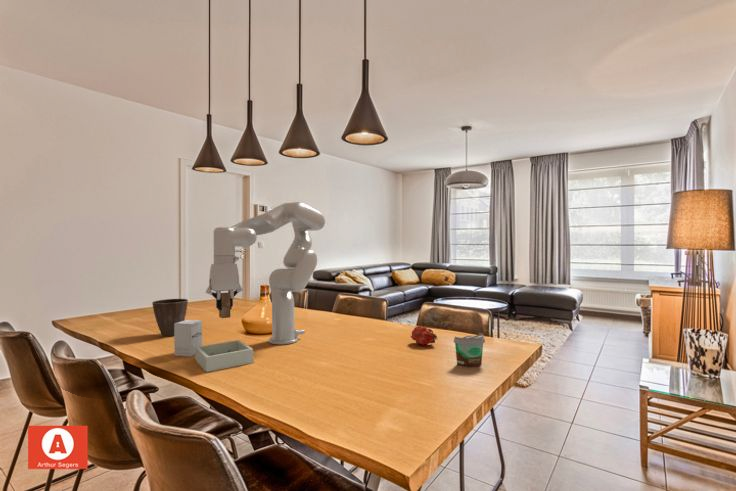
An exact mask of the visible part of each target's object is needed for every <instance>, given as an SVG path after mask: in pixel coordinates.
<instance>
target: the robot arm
mask: <svg viewBox="0 0 736 491" xmlns="http://www.w3.org/2000/svg"><path fill="white" fill-rule="evenodd" d="M290 223H291V224H292V228H293V233H294V237H293V238H294V239H293V240H292V243H291V244H290V247H289V248H288V250H287V251H286V254H284V257H283V262H282V263H283V265H284V268H277V269H275V270H273V271H271V273H270V275H269V277H268V282H269V283H268V284H269V288H270V295H271V333H272V334H271V335H272V336H271V337H269V338H268V343H269V344H271V345H290V344H294V343H296V342H298V341H299V337H298V336H299V335H305V333H306V331H305V329H296V328H295V298H294V294H293V293H299V292H301V291H303V290H304V289H305V288H306V287H307V285H308V284H309V281H310V280H311V277H312V276H313V273H314V271H315V269H316V267H317V265H318V257H317V254H316V252H315V251H314V250H312V249H311V248H312V245H313V240H312V237H311V234H310V232H311V231H313V232H315V231H316V232H317V231H319V230H322V229H323V228H324V227H325V224H326V219H325V216H324V214H322V212H321V211H319V210H317V209H315V208H314V207H311V206H309V205H307V204H306V203H303V202H299V201H292V202H285V203H281V204H279V205H277V206H275V207H273V208H271V209H270V210H267V211H266V212H264V213H262V214H258V215H255V216H253V217H250V218H247V219H246V220H243V221H241V222H240V221H239V222H238V223H236V224H234V225H232V226H230V227H229V226H228V227H222V226H220V227H215V228H214V230H213V264H212V263H211V264H210V267H209V268H210V270H209V280H208V287H207V289H206V291H205V293H206V294H208V295H211V296H212V297H213V298H215V306H216V307H215V308H216V309H217V310H218V311H219V310H222V300H221V298H220V296H221V293H222V292H227V291H228V292H227V293H230V310H233V309H232V307H233V306H234V305H233V304H234V298H235V297H236V295H237V294H239V293H241V292H242V291H243V288H242V286H241V284H240V276H239V268H238V264H237V263H236V262H237V261H239V260H240V257H239V256H236V247H237V248H239V247H240V248H241V247H242V248H247V247H248V248H249V247H250V246H253V245H254V244H255V243H256V242H257V238H258V237H257V236H261V235H262V236H263V235H266V234H269V233H273V232H276V231H277V230H279V229H280V228H282V227H284V226H286V225H288V224H290ZM213 291H214V292H213Z"/></svg>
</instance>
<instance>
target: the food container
mask: <svg viewBox="0 0 736 491" xmlns="http://www.w3.org/2000/svg"><path fill="white" fill-rule="evenodd" d="M453 338H454V339H453V343H454V344H455V345H454V346H455V356H456V365H458V366H461V367H467V368H476V367H480V366H481V365H482V360H483V352H484V351H483V349H484V344H485V343H486V337H485V336H484V334H483V333H482V332H478V334H477V335H466V336H463V337H460V336H459V337H458V336H454V337H453Z"/></svg>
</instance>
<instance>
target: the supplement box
mask: <svg viewBox="0 0 736 491" xmlns="http://www.w3.org/2000/svg"><path fill="white" fill-rule="evenodd" d="M173 337H174V338H173V339H174V356H175V357H188V358H189V357H192V356H195V347H198V346H203V320H201V319H185V320H184V321H181V322H178V323H175V324H174V336H173Z"/></svg>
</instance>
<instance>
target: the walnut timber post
mask: <svg viewBox="0 0 736 491" xmlns="http://www.w3.org/2000/svg"><path fill="white" fill-rule="evenodd" d="M220 298H221V300H222V310H218V313H219V314H218V315H219V316H218V317H219V318H221V319H227V318H228V319H230V318H231V309H230V293H228V292H221V296H220Z"/></svg>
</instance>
